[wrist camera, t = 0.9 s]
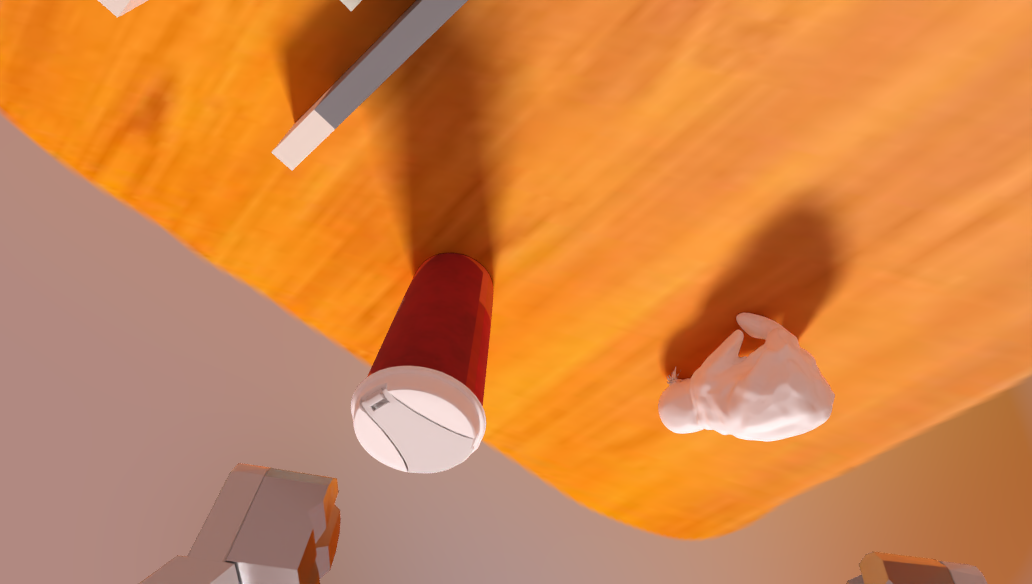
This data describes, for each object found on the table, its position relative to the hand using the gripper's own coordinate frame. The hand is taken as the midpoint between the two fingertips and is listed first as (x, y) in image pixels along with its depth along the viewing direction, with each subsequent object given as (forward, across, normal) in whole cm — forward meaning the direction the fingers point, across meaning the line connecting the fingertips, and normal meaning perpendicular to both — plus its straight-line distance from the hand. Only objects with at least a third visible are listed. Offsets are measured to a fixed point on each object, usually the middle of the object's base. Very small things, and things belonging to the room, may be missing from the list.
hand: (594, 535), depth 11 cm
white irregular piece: (+34, -13, +25) cm, 45 cm away
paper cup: (+34, +7, +22) cm, 41 cm away
